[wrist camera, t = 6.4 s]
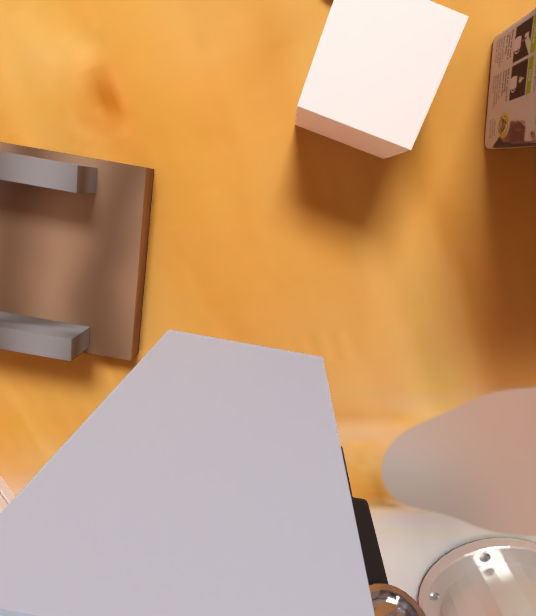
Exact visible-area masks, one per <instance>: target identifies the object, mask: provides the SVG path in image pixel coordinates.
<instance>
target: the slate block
mask: <svg viewBox="0 0 536 616" xmlns="http://www.w3.org/2000/svg"><path fill="white" fill-rule="evenodd" d="M0 616H375V614H374V609H373V604H372V599H371V594H370V589H369V584H368V579H367V574H366V569H365V564H364V559H363V554H362V549H361V544H360V540H359V535H358V530H357V525H356V520H355V515H354V510H353V505H352V500H351V495H350V490H349V485H348V480H347V475H346V470H345V465H344V460H343V455H342V450H341V445H340V440H339V435H338V430H337V425H336V420H335V415H334V411H333V406H332V401H331V396H330V391H329V386H328V381H327V376H326V371H325V366H324V361H323V357H320V356H314V355H309V354H303V353H297V352H292V351H286V350H281V349H275V348H269V347H264V346H258V345H253V344H247V343H242V342H236V341H230V340H225V339H219V338H214V337H208V336H203V335H197V334H191V333H186V332H180V331H175V330H168V331H167V332H166V333H165V334H164V335H163V336H162V338H161V339H160V340H159V341H158V342H157V343H156V344H155V345H154V346H153V347H152V348H151V350H150V351H149V352H148V353H147V354H146V355H145V356H144V357H143V358H142V359H141V360H140V362H139V363H138V364H137V365H136V366H135V367H134V368H133V369H132V370H131V371H130V372H129V374H128V375H127V376H126V377H125V378H124V379H123V380H122V381H121V382H120V383H119V385H118V386H117V387H116V388H115V389H114V390H113V391H112V392H111V393H110V394H109V395H108V397H107V398H106V399H105V400H104V401H103V402H102V403H101V404H100V405H99V406H98V407H97V409H96V410H95V411H94V412H93V413H92V414H91V415H90V416H89V417H88V418H87V419H86V421H85V422H84V423H83V424H82V425H81V426H80V427H79V428H78V429H77V430H76V432H75V433H74V434H73V435H72V436H71V437H70V438H69V439H68V440H67V441H66V442H65V444H64V445H63V446H62V447H61V448H60V449H59V450H58V451H57V452H56V453H55V454H54V456H53V457H52V458H51V459H50V460H49V461H48V462H47V463H46V464H45V465H44V466H43V468H42V469H41V470H40V471H39V472H38V473H37V474H36V475H35V476H34V477H33V479H32V480H31V481H30V482H29V483H28V484H27V485H26V486H25V487H24V488H23V489H22V491H21V492H20V493H19V494H18V495H17V496H16V497H15V498H14V499H13V500H12V501H11V503H10V504H9V505H8V506H7V507H6V508H5V509H4V510H3V511H2V512H1V513H0Z"/></svg>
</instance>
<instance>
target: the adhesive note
mask: <svg viewBox="0 0 536 616" xmlns="http://www.w3.org/2000/svg"><path fill="white" fill-rule="evenodd" d="M468 17H469V16H466V15H464V14H461V13H459V12H456V11H454V10H452V9H449V8H447V7H444V6H442V5H439V4H437V3H434V2H432V1H430V0H334V1H333V4H332V7H331V10H330V13H329V16H328V18H327V21H326V24H325V27H324V30H323V33H322V36H321V39H320V42H319V44H318V47H317V50H316V53H315V56H314V59H313V62H312V65H311V68H310V70H309V73H308V76H307V79H306V82H305V85H304V88H303V91H302V94H301V97H300V99H299V102H298V105H297V113H296V121H295V125H297V126H299V127H302V128H304V129H307V130H310V131H312V132H315V133H317V134H320V135H323V136H325V137H328V138H330V139H333V140H336V141H338V142H341V143H343V144H346V145H349V146H351V147H354V148H356V149H359V150H361V151H364V152H367V153H369V154H372V155H374V156H377V157H380V158H382V159H385V158H389V157H392V156H395V155H398V154H401V153H404V152H407V151H410V150H411V149H412V147H413V145H414V142H415V140H416V138H417V135H418V133H419V131H420V128H421V126H422V124H423V121H424V119H425V117H426V114H427V112H428V110H429V108H430V105H431V103H432V101H433V98H434V96H435V94H436V91H437V89H438V87H439V84H440V82H441V80H442V77H443V75H444V73H445V71H446V68H447V66H448V64H449V61H450V59H451V57H452V54H453V52H454V50H455V47H456V45H457V43H458V40H459V38H460V36H461V34H462V31H463V29H464V27H465V24H466V22H467V20H468Z"/></svg>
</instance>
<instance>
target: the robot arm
mask: <svg viewBox="0 0 536 616" xmlns="http://www.w3.org/2000/svg"><path fill="white" fill-rule="evenodd" d="M341 450H342V455H343V460H344V465H345V470H346V475H347V480H348V485H349V490H350V495H351V500H352V505H353V510H354V515H355V520H356V525H357V530H358V535H359V540H360V544H361V549H362V554H363V559H364V564H365V569H366V574H367V579H368V584H369V589H370V594H371V599H372V604H373V609H374V614H375V616H536V544H535V543H533V542H530V541H527V540H521V539H515V538H489V539H482V540H478V541H474V542H471V543H467V544H465V545H463V546H460V547H458V548H456V549H454V550H452V551H451V552H449V553H448V554H446V555H445V556H443V557H442V558H441V559H440V560H439V561H438V562H436V563H435V564H434V565H433V566H432V567H431V569H430V570H429V572H428V573H427V574H426V576H425V577H424V580H423V582H422V584H421V587H420V592H419V598H418V599H419V605H418V603H417V602H416V601H415V600H414V599H413V598H412V597H410V596H409V595H408V594H407V593H406V592H404V591H402V590H400V589H399V588H397V587H395V586H392V585H388V581H387V577H386V573H385V569H384V565H383V561H382V557H381V553H380V549H379V545H378V541H377V537H376V533H375V529H374V526H373V522H372V518H371V514H370V510H369V506H368V503H367V501H366V500H365V499H359V498H354V497H352V492H351V487H350V482H349V477H348V473H347V468H346V463H345V458H344V453H343V449H342V446H341Z"/></svg>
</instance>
